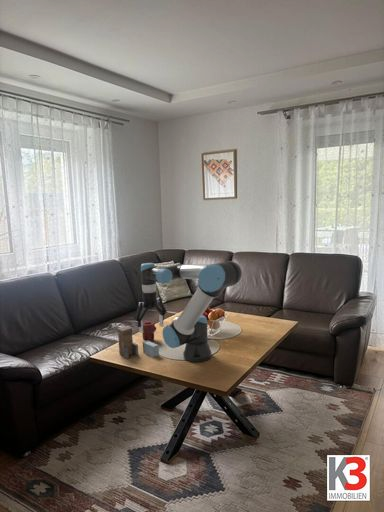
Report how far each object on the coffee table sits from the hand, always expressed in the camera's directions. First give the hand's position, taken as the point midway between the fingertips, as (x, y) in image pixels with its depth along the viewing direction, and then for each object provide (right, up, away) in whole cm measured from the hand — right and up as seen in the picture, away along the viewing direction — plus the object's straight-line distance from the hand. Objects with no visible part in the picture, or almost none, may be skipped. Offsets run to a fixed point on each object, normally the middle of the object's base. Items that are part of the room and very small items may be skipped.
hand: (151, 329), depth 202 cm
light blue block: (-1, -14, +3) cm, 15 cm away
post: (-13, -15, +3) cm, 20 cm away
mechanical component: (-4, -12, +24) cm, 27 cm away
